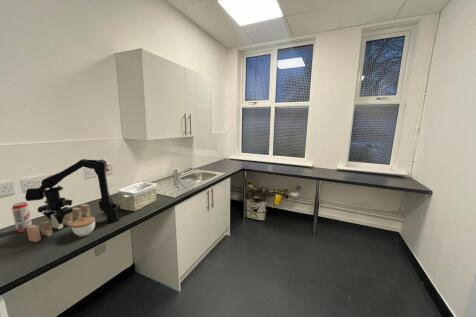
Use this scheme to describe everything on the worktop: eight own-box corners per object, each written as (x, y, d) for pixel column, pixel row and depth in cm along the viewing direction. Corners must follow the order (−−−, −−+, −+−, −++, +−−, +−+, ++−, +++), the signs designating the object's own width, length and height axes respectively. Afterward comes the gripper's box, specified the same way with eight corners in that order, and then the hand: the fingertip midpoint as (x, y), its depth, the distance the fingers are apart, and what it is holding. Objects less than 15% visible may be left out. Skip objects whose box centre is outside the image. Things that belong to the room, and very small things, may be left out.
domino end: (34, 238, 106) (31, 224, 104) (41, 239, 104) (38, 225, 103) (29, 240, 103) (26, 226, 102) (35, 242, 102) (33, 228, 101)
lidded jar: (81, 228, 116) (79, 213, 114) (100, 228, 116) (98, 213, 115) (67, 239, 105) (65, 223, 103) (88, 238, 106) (86, 223, 104)
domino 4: (76, 218, 126) (74, 207, 125) (82, 220, 125) (80, 208, 124) (72, 220, 124) (71, 208, 123) (78, 221, 123) (77, 209, 122)
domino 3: (67, 223, 121) (65, 211, 120) (73, 224, 120) (71, 212, 119) (63, 224, 119) (61, 212, 118) (69, 226, 118) (67, 213, 116)
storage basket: (143, 197, 163) (141, 180, 161) (159, 200, 158) (158, 183, 156) (117, 209, 141) (115, 190, 138) (135, 213, 136) (133, 193, 133)
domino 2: (56, 225, 116) (54, 213, 114) (63, 227, 115) (61, 214, 113) (52, 227, 114) (50, 215, 112) (59, 229, 112) (56, 216, 111)
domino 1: (46, 232, 111) (44, 219, 109) (52, 234, 110) (50, 220, 108) (41, 234, 109) (39, 221, 107) (48, 236, 107) (45, 222, 106)
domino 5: (84, 215, 132) (83, 204, 130) (90, 216, 130) (89, 204, 129) (81, 216, 130) (80, 205, 128) (87, 217, 128) (86, 206, 127)
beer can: (14, 233, 109) (8, 207, 106) (20, 228, 115) (15, 202, 112) (29, 231, 111) (23, 205, 108) (34, 226, 117) (30, 201, 114)
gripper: (80, 195, 116) (83, 219, 119) (57, 191, 121) (60, 214, 124) (59, 202, 106) (63, 228, 108) (34, 198, 110) (39, 223, 113)
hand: (57, 223), depth 114 cm, fingers closed on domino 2, 5 cm apart
